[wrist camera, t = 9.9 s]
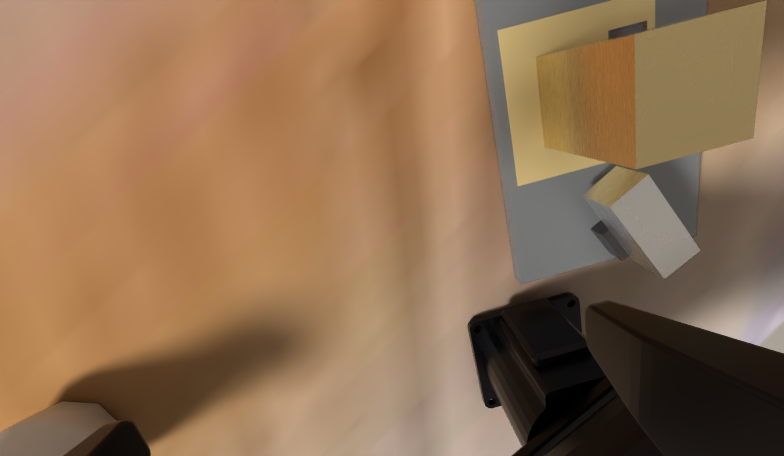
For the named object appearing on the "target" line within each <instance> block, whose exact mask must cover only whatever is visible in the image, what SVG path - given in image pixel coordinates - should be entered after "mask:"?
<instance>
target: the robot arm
mask: <svg viewBox="0 0 784 456" xmlns="http://www.w3.org/2000/svg"><path fill="white" fill-rule="evenodd" d="M569 300H571V301H570V303H568V304H567V302H568V301H569ZM476 326H480V327H479V328H478V329H474V328H475V327H476ZM585 328H586V337H585V336H584V335H583V334H582V329H581V316H580V304H579V299H578V298H577V297H576V296H575V295H574V294H573V293H570V292H568V293H564V294H560V295H556V296H553V297H549V298H545V299H540V300H537V301H533V302H529V303H526V304H522V305H519V306H515V307H511V308H508V309H505V310H502V311H499V312H495V313H491V314H488V315H484V316H481V317H477V318H474V319H472V320H471V321H470V322H469V323H468V332H469V336H470V341H471V346H472V351H473V356H474V360H475V365H476V370H477V375H478V380H479V384H480V389H481V394H482V399H483V401H484V403H485V406H486V407H488V408H495V407H498V406H502V407H503V409H504V411H505V413H506V415H507V417H508V419H509V421H510V423H511V425H512V427H513V429H514V431H515V433H516V435H517V437H518V439H519V441H520V443H521V445H522V447H521V448H520V449H519V450H518V451H517V452H515V453H514V454H513V455H512V456H784V353H780V352H777V351H774V350H770V349H767V348H764V347H760V346H757V345H754V344H751V343H747V342H744V341H741V340H737V339H734V338H731V337H727V336H724V335H721V334H717V333H714V332H711V331H707V330H704V329H701V328H698V327H694V326H691V325H688V324H684V323H681V322H678V321H674V320H671V319H668V318H664V317H661V316H658V315H655V314H651V313H648V312H645V311H641V310H638V309H635V308H631V307H628V306H625V305H621V304H618V303H615V302H612V301H602V302H598V303H594V304H590V305H588V306H587V307H586V310H585ZM490 399H492V400H490ZM63 456H151V452H150V449H149V446H148V445H147V443H146V441H145V440H144V438H143V436H142V435H141V433H140V432H139V430H138V428H137V427H136V425H135V423H134V422H133V421H131V420H129V419H124V420H120V421H116V422H111V423H108V424H105V425H103V426H102V427H100V428H99V429H98V430H96V431H95V432H94V433H92V434H91V435H90V436H88V437H87V438H86V439H84V440H83V441H82V442H80V443H79V444H78V445H76V446H75V447H74V448H73V449H71V450H70V451H69V452H67V453H66V454H65V455H63Z"/></svg>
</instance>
